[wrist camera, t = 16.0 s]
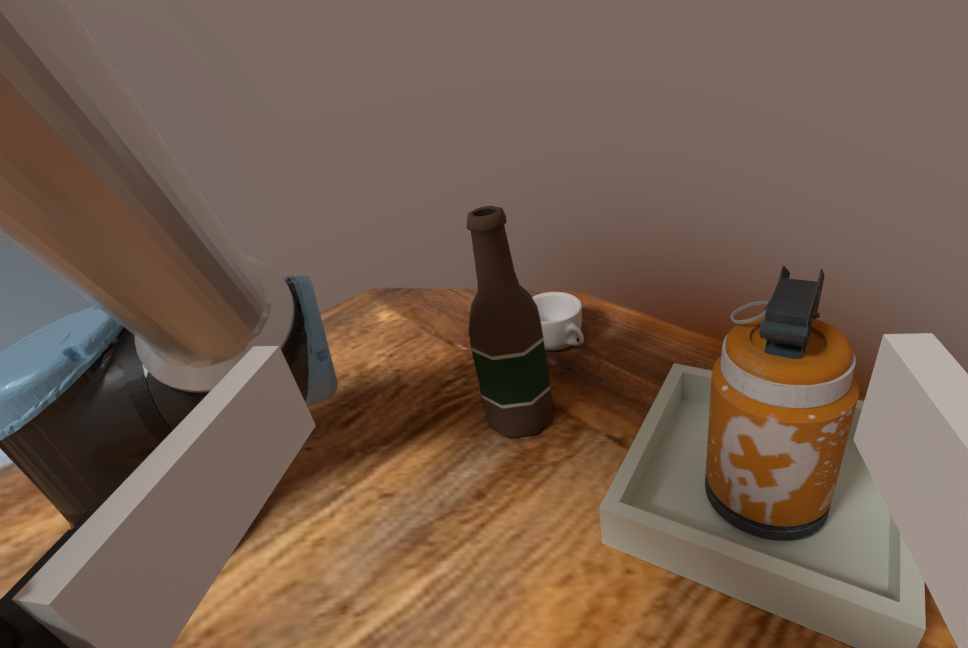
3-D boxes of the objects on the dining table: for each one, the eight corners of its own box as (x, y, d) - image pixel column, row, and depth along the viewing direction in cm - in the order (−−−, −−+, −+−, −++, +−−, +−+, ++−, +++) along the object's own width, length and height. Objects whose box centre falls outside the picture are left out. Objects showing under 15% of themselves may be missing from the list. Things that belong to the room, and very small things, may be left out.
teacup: (515, 340, 71) (509, 306, 68) (560, 319, 74) (556, 285, 71) (559, 374, 63) (555, 337, 61) (608, 348, 66) (606, 312, 63)
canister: (690, 518, 43) (700, 310, 32) (725, 430, 50) (742, 237, 40) (819, 566, 38) (878, 338, 27) (837, 461, 45) (889, 248, 34)
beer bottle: (569, 423, 56) (544, 209, 44) (503, 451, 54) (458, 237, 42) (536, 384, 62) (506, 189, 50) (476, 409, 60) (430, 212, 48)
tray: (602, 543, 43) (599, 507, 41) (673, 396, 57) (673, 363, 54) (906, 668, 32) (925, 629, 30) (906, 450, 46) (919, 411, 43)
